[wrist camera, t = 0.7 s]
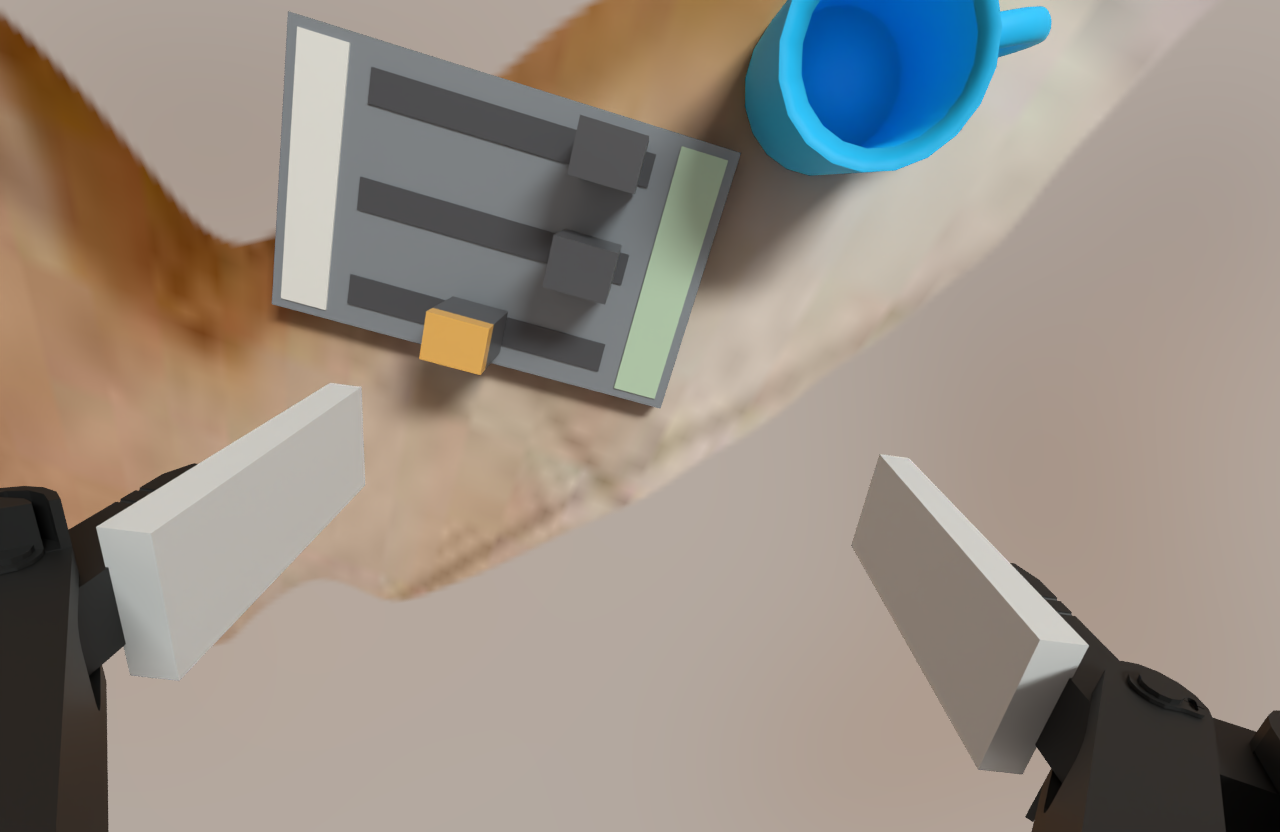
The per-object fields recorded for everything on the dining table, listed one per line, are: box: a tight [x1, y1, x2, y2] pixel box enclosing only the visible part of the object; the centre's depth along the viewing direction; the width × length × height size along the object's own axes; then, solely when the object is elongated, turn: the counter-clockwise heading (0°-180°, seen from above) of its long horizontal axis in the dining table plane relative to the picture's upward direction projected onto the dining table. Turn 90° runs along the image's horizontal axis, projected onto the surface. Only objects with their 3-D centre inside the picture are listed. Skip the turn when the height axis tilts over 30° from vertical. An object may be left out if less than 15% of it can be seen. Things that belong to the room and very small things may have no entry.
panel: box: [272, 12, 741, 408], centre depth 31 cm, size 22×14×2 cm, turn 74°
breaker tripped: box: [419, 296, 508, 375], centre depth 30 cm, size 3×2×4 cm
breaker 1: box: [567, 115, 649, 194], centre depth 27 cm, size 3×2×4 cm
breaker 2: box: [542, 229, 622, 305], centre depth 29 cm, size 3×2×4 cm
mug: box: [745, 0, 1051, 176], centre depth 26 cm, size 12×8×8 cm
